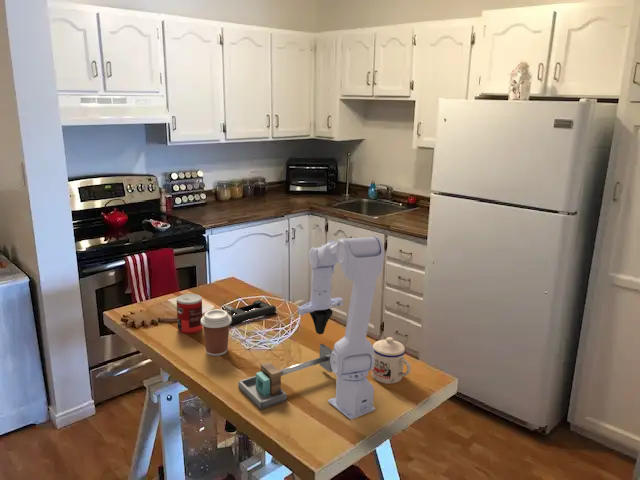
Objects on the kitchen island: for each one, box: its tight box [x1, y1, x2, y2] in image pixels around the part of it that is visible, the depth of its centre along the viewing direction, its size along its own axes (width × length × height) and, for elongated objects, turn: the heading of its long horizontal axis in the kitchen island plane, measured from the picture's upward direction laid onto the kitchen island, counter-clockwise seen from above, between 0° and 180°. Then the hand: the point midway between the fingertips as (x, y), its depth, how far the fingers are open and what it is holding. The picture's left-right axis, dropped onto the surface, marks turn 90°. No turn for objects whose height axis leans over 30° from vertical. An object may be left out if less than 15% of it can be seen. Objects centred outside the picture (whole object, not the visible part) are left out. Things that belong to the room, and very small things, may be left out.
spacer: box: [255, 371, 270, 397], centre depth 136 cm, size 5×2×5 cm, turn 36°
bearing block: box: [260, 361, 282, 396], centre depth 137 cm, size 6×2×7 cm, turn 36°
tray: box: [237, 375, 288, 411], centre depth 137 cm, size 12×8×2 cm, turn 36°
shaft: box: [278, 343, 333, 377], centre depth 143 cm, size 5×17×6 cm, turn 126°
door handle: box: [221, 299, 277, 326], centre depth 186 cm, size 3×20×16 cm
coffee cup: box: [201, 309, 232, 357], centre depth 157 cm, size 9×9×12 cm
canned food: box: [176, 293, 203, 335], centre depth 171 cm, size 8×8×11 cm
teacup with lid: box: [371, 336, 412, 385], centre depth 146 cm, size 12×9×12 cm
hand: (319, 332), depth 152 cm, fingers closed
